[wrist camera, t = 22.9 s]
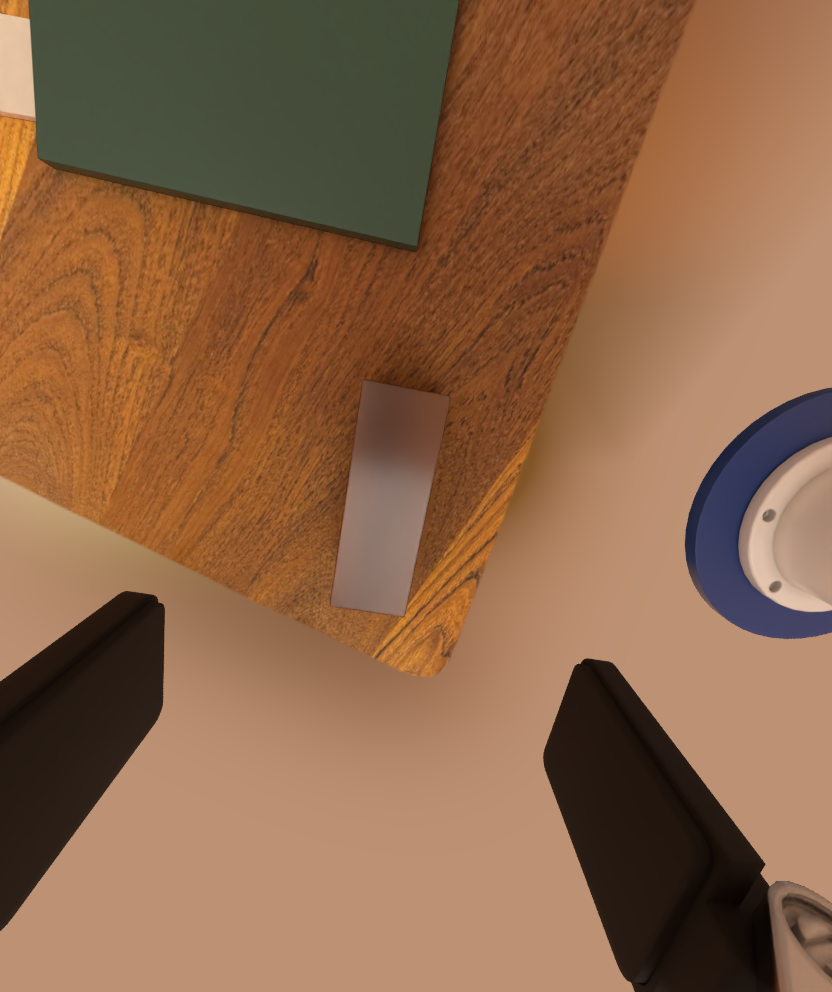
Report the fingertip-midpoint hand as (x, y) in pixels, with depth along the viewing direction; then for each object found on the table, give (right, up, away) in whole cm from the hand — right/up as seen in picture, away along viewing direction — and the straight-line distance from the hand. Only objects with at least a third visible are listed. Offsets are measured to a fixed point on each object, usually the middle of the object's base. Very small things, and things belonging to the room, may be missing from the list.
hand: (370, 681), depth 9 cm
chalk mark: (-20, +26, +11) cm, 35 cm away
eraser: (-1, +5, +18) cm, 18 cm away
